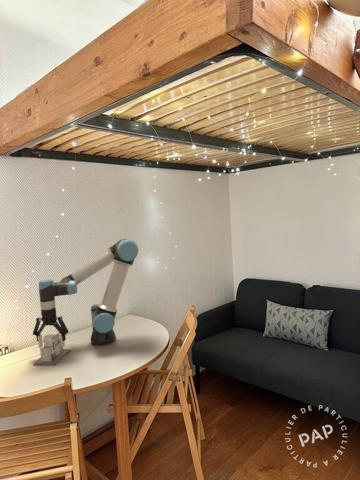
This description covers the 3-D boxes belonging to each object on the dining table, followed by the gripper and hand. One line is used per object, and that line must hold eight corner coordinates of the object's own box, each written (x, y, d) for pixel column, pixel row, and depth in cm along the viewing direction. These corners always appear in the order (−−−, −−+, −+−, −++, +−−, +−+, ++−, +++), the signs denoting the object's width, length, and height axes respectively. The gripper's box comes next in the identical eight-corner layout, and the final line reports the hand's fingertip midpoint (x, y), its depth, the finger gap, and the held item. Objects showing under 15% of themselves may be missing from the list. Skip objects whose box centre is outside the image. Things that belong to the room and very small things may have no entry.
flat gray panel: (70, 351, 189) (69, 335, 188) (55, 365, 171) (53, 347, 170) (51, 351, 190) (49, 335, 190) (33, 365, 173) (31, 348, 172)
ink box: (53, 359, 176) (51, 337, 175) (44, 359, 177) (42, 337, 176) (61, 352, 184) (59, 331, 184) (53, 352, 185) (51, 331, 185)
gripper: (72, 305, 181) (76, 343, 183) (31, 306, 184) (34, 344, 186) (66, 309, 174) (69, 349, 175) (23, 310, 177) (27, 349, 178)
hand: (51, 346), depth 180 cm, fingers open, 12 cm apart
